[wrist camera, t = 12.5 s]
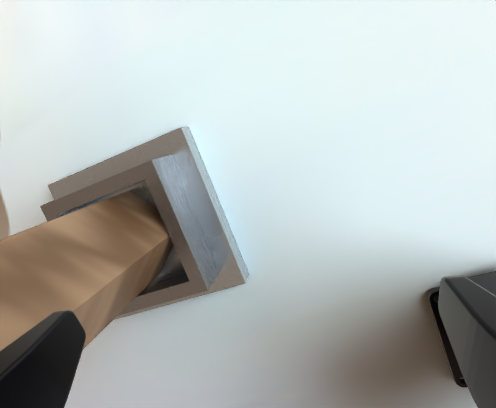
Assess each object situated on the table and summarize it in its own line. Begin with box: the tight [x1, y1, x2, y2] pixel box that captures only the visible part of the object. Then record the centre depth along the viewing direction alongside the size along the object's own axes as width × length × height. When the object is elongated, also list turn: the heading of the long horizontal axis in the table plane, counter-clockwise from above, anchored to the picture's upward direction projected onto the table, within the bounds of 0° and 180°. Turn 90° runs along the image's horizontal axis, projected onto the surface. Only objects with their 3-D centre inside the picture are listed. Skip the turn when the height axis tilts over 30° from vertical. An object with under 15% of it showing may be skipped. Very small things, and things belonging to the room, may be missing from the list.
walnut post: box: [0, 191, 173, 351], centre depth 15 cm, size 4×4×13 cm
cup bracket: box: [40, 127, 249, 319], centre depth 21 cm, size 10×10×4 cm
